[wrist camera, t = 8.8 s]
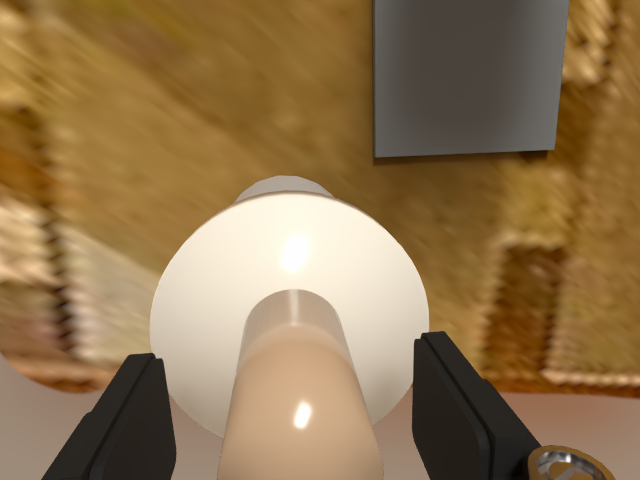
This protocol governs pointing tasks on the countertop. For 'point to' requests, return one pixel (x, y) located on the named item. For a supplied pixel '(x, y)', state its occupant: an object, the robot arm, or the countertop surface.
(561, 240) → the countertop surface
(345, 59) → the countertop surface
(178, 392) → the lid
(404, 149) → the mat
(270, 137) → the countertop surface
